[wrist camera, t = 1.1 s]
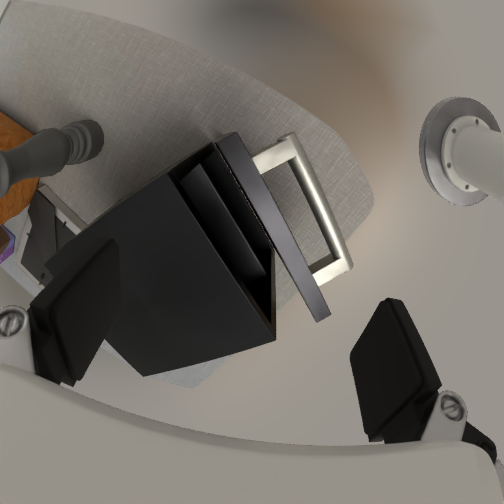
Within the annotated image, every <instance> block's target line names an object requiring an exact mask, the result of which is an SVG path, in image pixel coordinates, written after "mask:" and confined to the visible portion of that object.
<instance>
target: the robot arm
mask: <svg viewBox="0 0 504 504" xmlns="http://www.w3.org/2000/svg"><path fill="white" fill-rule="evenodd" d="M441 159H442V165H443V168H444V171H445V174H446V176H447V177H448V179H449V180H450V182H451V183H452V184H453V185H455V186H456V187H457V188H459V189H461V190H463V191H466V192H473V191H477V190H481V191H483V192H484V193H486V194H488V195H490V196H491V197H493V198H495V199H496V200H498V201H499V202H501V203H503V204H504V133H500V132H497V131H493V130H491V129H490V128H489V126H488V125H487V124H486V123H485V122H484V121H483V120H481V119H480V118H478V117H475V116H470V115H465V116H461V117H458V118H456V119H455V120H454V121H453V122H452V123H451V124H450V125H449V126H448V128H447V130H446V131H445V134H444V137H443V141H442V146H441ZM121 308H122V297H121V282H120V260H119V245H118V243H115V239H114V238H112V237H108V236H104V235H98V236H96V237H95V238H94V239H93V240H92V241H91V242H90V243H89V244H88V245H87V246H85V247H84V248H83V249H82V250H81V251H80V252H79V253H78V254H77V255H76V256H75V257H74V258H73V259H72V260H71V261H70V262H69V263H68V264H67V265H66V266H65V267H64V268H63V269H62V270H61V271H60V272H59V273H58V274H57V275H56V276H55V277H54V278H53V279H52V280H51V281H50V282H49V283H48V284H47V285H46V287H45V288H44V289H43V290H42V291H41V292H40V293H39V294H38V295H37V296H36V297H35V299H34V300H33V301H32V302H31V303H30V308H29V309H28V310H27V311H26V310H25V309H24V308H22V307H21V306H17V305H9V306H6V307H3V308H1V309H0V504H504V466H503V464H502V463H501V462H500V460H499V459H498V460H496V458H497V452H496V446H495V444H494V443H493V441H491V440H490V439H489V438H488V437H487V436H485V435H484V434H483V433H482V432H480V431H479V430H478V429H476V428H475V427H473V426H472V425H471V424H470V423H468V422H467V421H466V420H467V413H468V411H467V407H466V405H465V402H464V401H463V399H462V398H461V397H460V396H459V395H458V394H456V393H454V392H452V391H448V390H446V391H442V392H441V393H440V394H439V393H438V391H437V390H438V389H439V388H440V387H441V386H442V384H441V381H440V379H439V376H438V374H437V372H436V369H435V367H434V365H433V363H432V360H431V358H430V356H429V354H428V352H427V349H426V347H425V345H424V343H423V341H422V339H421V337H420V335H419V333H418V331H417V329H416V327H415V325H414V323H413V321H412V319H411V317H410V315H409V313H408V311H407V309H406V307H405V305H404V303H403V302H402V301H401V300H398V299H393V298H386V299H385V300H384V301H381V302H380V303H379V305H378V307H377V309H376V310H375V312H374V314H373V316H372V317H371V319H370V321H369V323H368V324H367V326H366V328H365V329H364V331H363V333H362V334H361V336H360V338H359V339H358V341H357V343H356V344H355V346H354V348H353V349H352V351H351V353H350V363H351V367H352V372H353V376H354V381H355V385H356V391H357V395H358V400H359V405H360V411H361V416H362V421H363V427H364V432H365V433H366V434H368V438H369V442H379V441H383V440H384V442H385V444H379V445H360V446H312V445H294V444H281V443H269V442H260V441H253V440H245V439H238V438H231V437H226V436H220V435H214V434H210V433H205V432H200V431H195V430H191V429H186V428H182V427H178V426H174V425H170V424H166V423H163V422H159V421H155V420H152V419H148V418H145V417H142V416H139V415H136V414H132V413H129V412H126V411H123V410H121V409H118V408H114V407H112V406H109V405H106V404H104V403H101V402H99V401H96V400H94V399H91V398H88V397H85V396H83V395H81V394H78V393H76V392H74V391H71V390H69V389H67V388H64V387H62V386H60V383H61V382H63V383H65V384H67V385H70V386H72V387H73V386H74V385H75V382H76V381H77V380H78V381H80V380H81V379H82V378H83V376H84V374H85V372H86V370H87V368H88V367H89V365H90V363H91V361H92V360H93V358H94V356H95V354H96V352H97V351H98V349H99V347H100V345H101V344H102V342H103V340H104V338H105V337H106V335H107V333H108V332H109V330H110V328H111V327H112V325H113V323H114V322H115V320H116V318H117V317H118V315H119V313H120V311H121Z"/></svg>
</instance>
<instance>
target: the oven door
mask: <svg viewBox="0 0 504 504" xmlns="http://www.w3.org/2000/svg"><path fill="white" fill-rule="evenodd" d="M214 142H215V144H216V146H217V148H218V149H219V151H220V153H221V154H222V156H223V158H224V160H225V161H226V163H227V165H228V167H229V168H230V170H231V172H232V173H233V175H234V177H235V179H236V180H237V182H238V184H239V186H240V187H241V189H242V191H243V193H244V194H245V196H246V198H247V200H248V201H249V203H250V205H251V207H252V209H253V210H254V212H255V214H256V216H257V217H258V219H259V221H260V223H261V225H262V226H263V228H264V230H265V232H266V233H267V235H268V237H269V239H270V241H271V242H272V244H273V246H274V248H275V250H276V251H277V253H278V255H279V257H280V259H281V260H282V262H283V264H284V266H285V267H286V269H287V271H288V273H289V274H290V276H291V278H292V280H293V281H294V283H295V285H296V287H297V289H298V290H299V292H300V294H301V296H302V297H303V299H304V301H305V303H306V305H307V306H308V308H309V310H310V312H311V314H312V315H313V317H314V319H315V321H316V322H319V321H321V320H323V319H325V318H326V317H328V316H330V315H331V312H330V310H329V308H328V306H327V304H326V302H325V300H324V298H323V296H322V293H321V292H320V290H319V286H321V285H322V284H324V283H326V282H328V281H329V280H331V279H333V278H335V277H336V276H338V275H340V274H342V273H345V272H348V271H350V270H351V269H352V268H353V262H352V259H351V257H350V254H349V252H348V249H347V247H346V244H345V241H344V239H343V236H342V234H341V231H340V229H339V227H338V224H337V222H336V219H335V217H334V215H333V212H332V210H331V208H330V205H329V203H328V201H327V199H326V196H325V194H324V192H323V190H322V187H321V185H320V183H319V181H318V179H317V177H316V174H315V172H314V170H313V168H312V166H311V164H310V162H309V160H308V158H307V156H306V153H305V151H304V149H303V147H302V145H301V143H300V141H299V139H298V137H297V135H296V134H295V132H290V133H288V134H285V135H283V136H281V137H280V138H278V139H277V142H275V143H273V144H271V145H269V146H267V147H265V148H263V149H261V150H260V151H258V152H256V153H254V154H252V155H250V154H249V152H248V151H247V149H246V147H245V145H244V143H243V142H242V140H241V138H240V136H239V135H238V133H237V132H233V133H229V134H226V135H223V136H221V137H219V138H218V139H216V140H214ZM286 161H288V163H289V165H290V167H291V169H292V171H293V173H294V175H295V177H296V179H297V181H298V183H299V185H300V187H301V189H302V191H303V193H304V195H305V197H306V199H307V201H308V203H309V205H310V208H311V210H312V212H313V214H314V216H315V218H316V221H317V223H318V225H319V227H320V229H321V231H322V234H323V236H324V238H325V240H326V243H327V245H328V247H329V250H330V252H331V254H329V255H327V256H325V257H324V258H322V259H320V260H319V261H317V262H315V263H313V264H311V265H310V266H308V265H307V263H306V261H305V259H304V257H303V255H302V253H301V251H300V249H299V247H298V245H297V243H296V241H295V239H294V237H293V235H292V233H291V231H290V229H289V227H288V225H287V223H286V221H285V219H284V217H283V215H282V214H281V212H280V210H279V208H278V206H277V204H276V202H275V200H274V198H273V196H272V195H271V193H270V191H269V189H268V187H267V185H266V183H265V182H264V180H263V178H262V176H261V175H262V174H264V173H266V172H268V171H269V170H271V169H273V168H275V167H277V166H279V165H281V164H283V163H284V162H286Z"/></svg>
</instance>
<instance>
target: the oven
mask: <svg viewBox="0 0 504 504" xmlns="http://www.w3.org/2000/svg"><path fill="white" fill-rule="evenodd" d="M98 235H104V236H108V237H112V238H114V239H115V243H118V245H119V260H120V282H121V297H122V308H121V311H120V313H119V315H118V317H117V318H116V320H115V322H114V323H113V325H112V327H111V328H110V330H109V332H108V333H107V335H106V337H105V338H104V339H105V340H106V341H107V342H108V343H109V344H110V345H111V346H112V347H113V348H114V349H115V350H116V351H117V352H118V353H119V354H120V355H121V356H122V357H123V358H124V359H125V360H126V361H127V362H128V363H129V364H130V365H131V366H132V367H133V368H134V369H136V371H137V372H139V373H140V374H141V375H142V376H143V377H144V376H149V375H154V374H158V373H162V372H167V371H171V370H175V369H179V368H183V367H187V366H191V365H195V364H199V363H202V362H206V361H210V360H213V359H217V358H221V357H224V356H228V355H231V354H234V353H238V352H241V351H244V350H248V349H251V348H254V347H257V346H260V345H263V344H266V343H269V342H272V341H275V340H276V286H275V251H274V249H273V247H272V245H271V244H270V242H269V240H268V238H267V236H266V235H265V233H264V231H263V229H262V228H261V226H260V224H259V222H258V220H257V219H256V217H255V215H254V213H253V212H252V210H251V208H250V206H249V205H248V203H247V201H246V199H245V198H244V196H243V194H242V192H241V191H240V189H239V187H238V185H237V184H236V182H235V180H234V178H233V177H232V175H231V173H230V171H229V170H228V168H227V166H226V164H225V163H224V161H223V159H222V158H221V156H220V154H219V152H218V151H217V149H216V147H215V146H214V144H213V142H210V143H209V144H207V145H205V146H204V147H202V148H200V149H198V150H197V151H195V152H193V153H192V154H190V155H188V156H187V157H185V158H183V159H182V160H180V161H178V162H177V163H175V164H174V165H172V166H170V167H169V168H167V169H166V170H164V171H162V172H161V173H159V174H158V175H156V176H155V177H153V178H152V179H150V180H149V181H147V182H146V183H144V184H143V185H141V186H140V187H138V188H137V189H135V190H134V191H133V192H131V193H130V194H128V195H127V196H125V197H124V198H123V199H121V200H120V201H118V202H117V203H116V204H114V205H113V206H112V207H110V208H109V209H108V210H107V211H105V212H104V213H103V214H101V215H100V216H99V217H98V218H96V219H95V220H94V221H93V222H91V223H90V224H89V225H88V226H87V227H85V228H84V229H83V230H82V231H81V232H79V233H78V234H77V235H76V236H75V237H73V238H72V239H71V240H70V241H69V242H68V243H67V244H65V245H64V246H63V247H62V248H61V249H60V250H59V251H57V252H56V253H55V254H54V255H53V256H52V257H51V258H50V259H49V260H48V261H47V262H46V263H44V266H45V267H46V269H47V270H48V271H49V273H50V274H51V276H52V277H53V278H54V277H55V276H56V275H57V274H58V273H59V272H60V271H61V270H62V269H63V268H64V267H65V266H66V265H67V264H68V263H69V262H70V261H71V260H72V259H73V258H74V257H75V256H76V255H77V254H78V253H79V252H80V251H81V250H82V249H83V248H84V247H85V246H87V245H88V244H89V243H90V242H91V241H92V240H93V239H94V238H95V237H96V236H98Z"/></svg>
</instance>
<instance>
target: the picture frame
mask: <svg viewBox="0 0 504 504" xmlns="http://www.w3.org/2000/svg"><path fill="white" fill-rule="evenodd" d="M28 214H29V215H28V218H27V221H26V224H25V227H24V230H23V233H22V237H21V240H20V243H19V247H18V251H17V254H16V258H15V263H16V265H17V266H18V267H19V268H20V269H21V270H22V271H23V272H24V273H25V274H26V275H27V276H28V277H29V278H30V279H31V280H32V281H33V282H34V283H35V284H36V285H37V286H38V287H39V288H40V289H42V290H43V289H44V288H45V287H46V285H47V284H48V283H49V282H50V281H51V280H52V279H53V277H52V276H51V274H50V273H49V271H48V270H47V269H46V267H45V266H44V263H46V262H47V261H48V260H49V259H50V258H51V257H52V256H53V255H54V254H55V253H56V252H57V251H59V250H60V249H61V248H62V247H63V246H64V245H65V244H67V243H68V242H69V241H70V240H71V239H72V238H73V237H75V236H76V235H77V234H78V233H79V232H81V231H82V230H83V229H84V228H85V227H87V226H88V225H86V224H85V223H84V222H83V221H82V220H81V219H80V218H79V217H78V216H77V215H76V214H75V213H74V212H73V211H72V210H70V209H69V208H68V207H67V206H66V205H65V204H64V203H63V202H62V201H61V200H60V199H59V198H58V197H57V196H56V195H55V194H54V193H53V192H52V191H51V190H50V189H49V188H48V187H47V186H46V185H44V186H42V187H40V188H38V190H35V192H34V195H33V198H32V200H31V203H30V206H29V209H28Z"/></svg>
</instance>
